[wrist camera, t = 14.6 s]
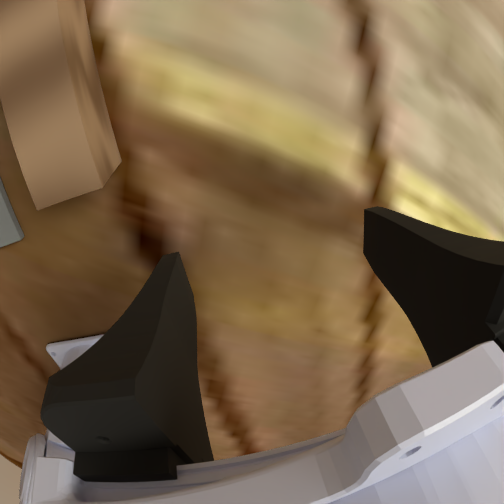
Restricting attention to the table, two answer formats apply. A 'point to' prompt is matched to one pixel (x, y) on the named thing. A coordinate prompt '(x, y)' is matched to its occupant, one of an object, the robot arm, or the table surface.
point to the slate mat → (8, 221)
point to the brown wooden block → (54, 99)
